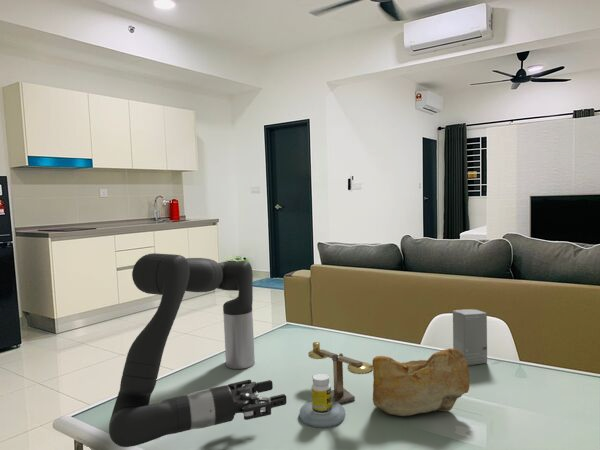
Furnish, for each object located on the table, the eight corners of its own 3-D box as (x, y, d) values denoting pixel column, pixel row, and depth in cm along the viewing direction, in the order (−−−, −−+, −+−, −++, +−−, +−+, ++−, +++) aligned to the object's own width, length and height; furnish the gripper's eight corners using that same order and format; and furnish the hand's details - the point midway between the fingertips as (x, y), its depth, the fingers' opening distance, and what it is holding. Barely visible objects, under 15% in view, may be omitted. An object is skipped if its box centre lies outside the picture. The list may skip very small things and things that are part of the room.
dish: (292, 411, 110) (292, 405, 110) (331, 401, 114) (331, 396, 114) (312, 432, 100) (311, 426, 100) (353, 420, 104) (353, 414, 104)
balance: (305, 380, 127) (304, 335, 126) (324, 376, 130) (322, 332, 129) (357, 425, 102) (355, 369, 101) (379, 419, 104) (377, 364, 103)
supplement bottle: (330, 416, 104) (329, 381, 103) (310, 414, 105) (309, 380, 104) (333, 406, 109) (331, 373, 108) (314, 405, 110) (312, 372, 109)
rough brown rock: (457, 392, 118) (453, 336, 119) (476, 418, 102) (471, 353, 102) (370, 395, 120) (366, 340, 121) (374, 421, 104) (370, 357, 104)
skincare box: (464, 366, 133) (464, 315, 132) (451, 358, 140) (450, 309, 139) (489, 363, 135) (488, 312, 134) (474, 355, 142) (474, 307, 141)
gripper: (216, 404, 89) (290, 387, 95) (201, 378, 101) (267, 365, 108) (218, 440, 89) (291, 420, 96) (202, 410, 102) (268, 395, 109)
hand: (278, 391), depth 102 cm, fingers open, 8 cm apart
